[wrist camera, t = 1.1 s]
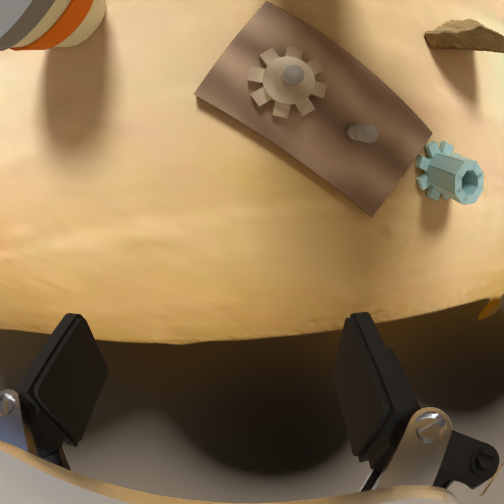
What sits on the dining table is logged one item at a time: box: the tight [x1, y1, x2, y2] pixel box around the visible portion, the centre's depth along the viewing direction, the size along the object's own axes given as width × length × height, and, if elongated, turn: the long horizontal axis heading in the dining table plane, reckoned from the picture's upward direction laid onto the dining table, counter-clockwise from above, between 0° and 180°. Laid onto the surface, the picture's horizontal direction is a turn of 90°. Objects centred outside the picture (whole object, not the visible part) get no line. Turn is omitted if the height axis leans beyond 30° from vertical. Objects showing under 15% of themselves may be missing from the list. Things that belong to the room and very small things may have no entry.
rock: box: [425, 19, 504, 53], centre depth 19 cm, size 11×9×10 cm
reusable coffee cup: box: [0, 0, 106, 51], centre depth 15 cm, size 13×13×15 cm
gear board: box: [194, 1, 432, 217], centre depth 25 cm, size 14×25×7 cm, turn 56°
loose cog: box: [416, 141, 484, 205], centre depth 28 cm, size 8×8×7 cm
